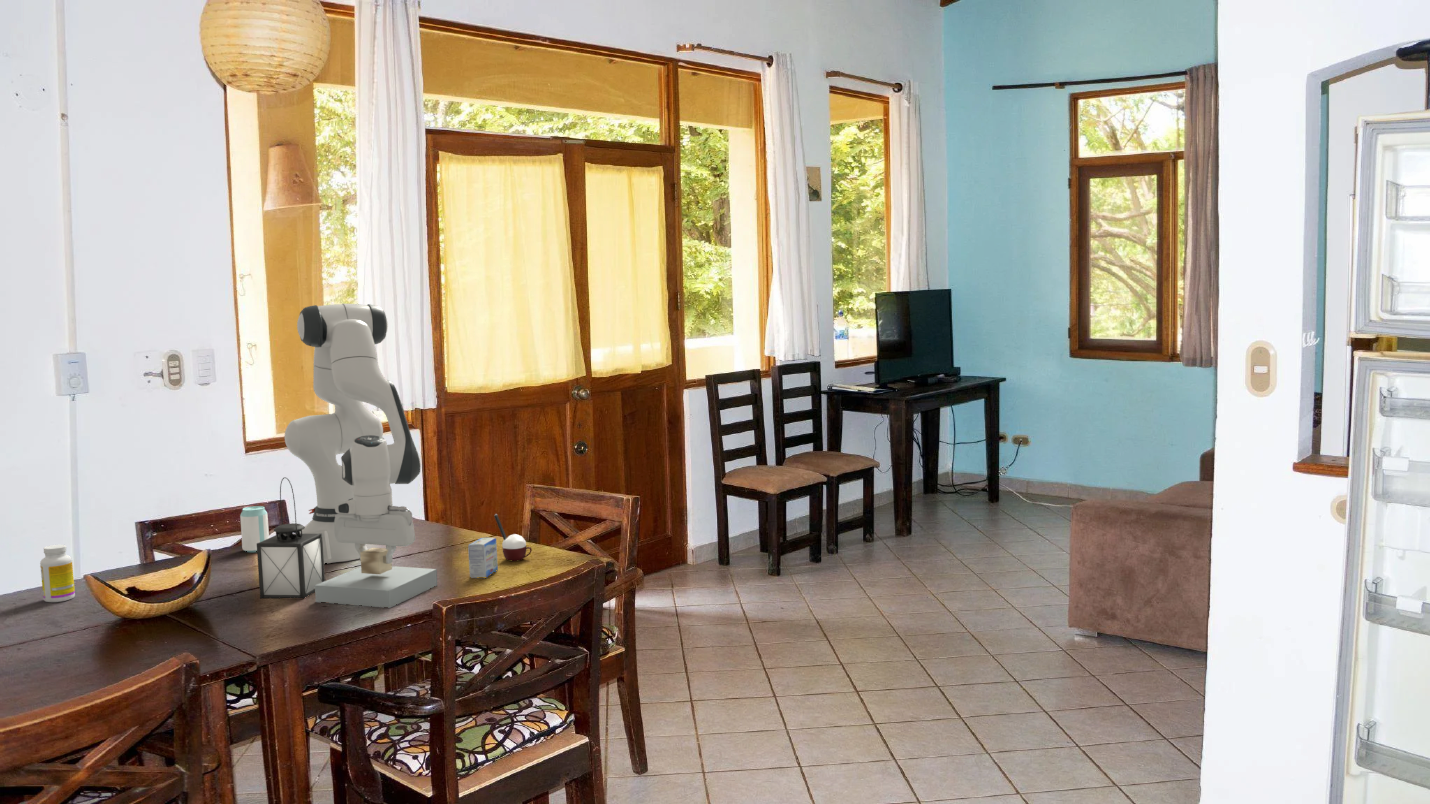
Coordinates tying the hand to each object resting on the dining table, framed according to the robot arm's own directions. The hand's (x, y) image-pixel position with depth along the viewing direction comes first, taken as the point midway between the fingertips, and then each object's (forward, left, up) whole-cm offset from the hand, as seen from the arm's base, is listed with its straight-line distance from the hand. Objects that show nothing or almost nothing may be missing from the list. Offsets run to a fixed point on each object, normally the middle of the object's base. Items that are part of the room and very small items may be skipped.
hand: (376, 562), depth 274 cm
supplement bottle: (-73, -23, -8) cm, 77 cm away
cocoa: (+16, +38, -8) cm, 42 cm away
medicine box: (+16, +22, -8) cm, 28 cm away
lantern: (-21, -4, -8) cm, 23 cm away
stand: (0, 0, -8) cm, 8 cm away
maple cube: (0, 0, -2) cm, 2 cm away
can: (-61, +31, -8) cm, 69 cm away
